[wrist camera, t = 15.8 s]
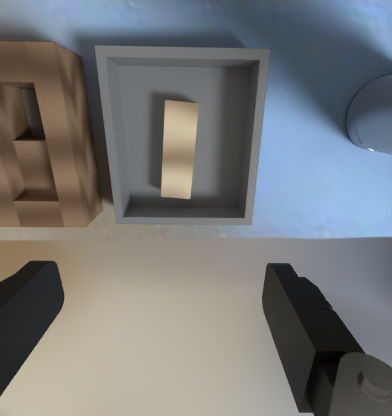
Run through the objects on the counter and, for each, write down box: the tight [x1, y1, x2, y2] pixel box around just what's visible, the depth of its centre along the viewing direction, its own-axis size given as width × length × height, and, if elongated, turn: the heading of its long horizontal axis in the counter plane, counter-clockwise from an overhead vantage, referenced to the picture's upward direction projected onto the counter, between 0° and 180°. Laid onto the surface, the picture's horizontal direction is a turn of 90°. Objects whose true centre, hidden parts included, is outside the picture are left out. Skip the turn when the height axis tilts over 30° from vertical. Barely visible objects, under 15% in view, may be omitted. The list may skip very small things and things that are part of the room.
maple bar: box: [161, 100, 199, 199], centre depth 31 cm, size 12×4×2 cm, turn 175°
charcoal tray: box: [94, 45, 271, 225], centre depth 30 cm, size 20×18×5 cm
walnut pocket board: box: [0, 41, 103, 227], centre depth 29 cm, size 20×11×6 cm, turn 179°
